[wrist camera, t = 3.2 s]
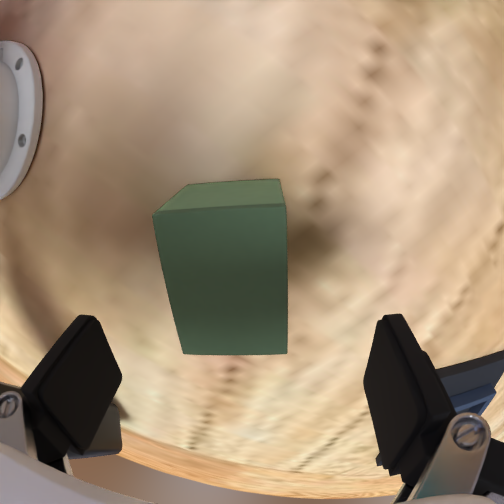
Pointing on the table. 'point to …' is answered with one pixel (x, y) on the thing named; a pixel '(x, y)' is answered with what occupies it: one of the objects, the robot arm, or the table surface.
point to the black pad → (471, 384)
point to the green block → (226, 266)
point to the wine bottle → (105, 437)
